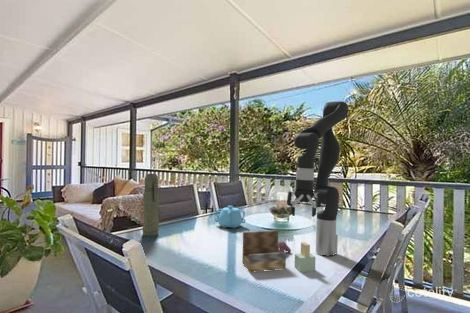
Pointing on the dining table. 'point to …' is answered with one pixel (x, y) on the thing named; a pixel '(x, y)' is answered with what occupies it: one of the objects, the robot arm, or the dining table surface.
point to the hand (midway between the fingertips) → (303, 216)
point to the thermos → (151, 206)
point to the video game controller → (283, 247)
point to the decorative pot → (230, 217)
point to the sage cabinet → (305, 259)
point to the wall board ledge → (262, 251)
